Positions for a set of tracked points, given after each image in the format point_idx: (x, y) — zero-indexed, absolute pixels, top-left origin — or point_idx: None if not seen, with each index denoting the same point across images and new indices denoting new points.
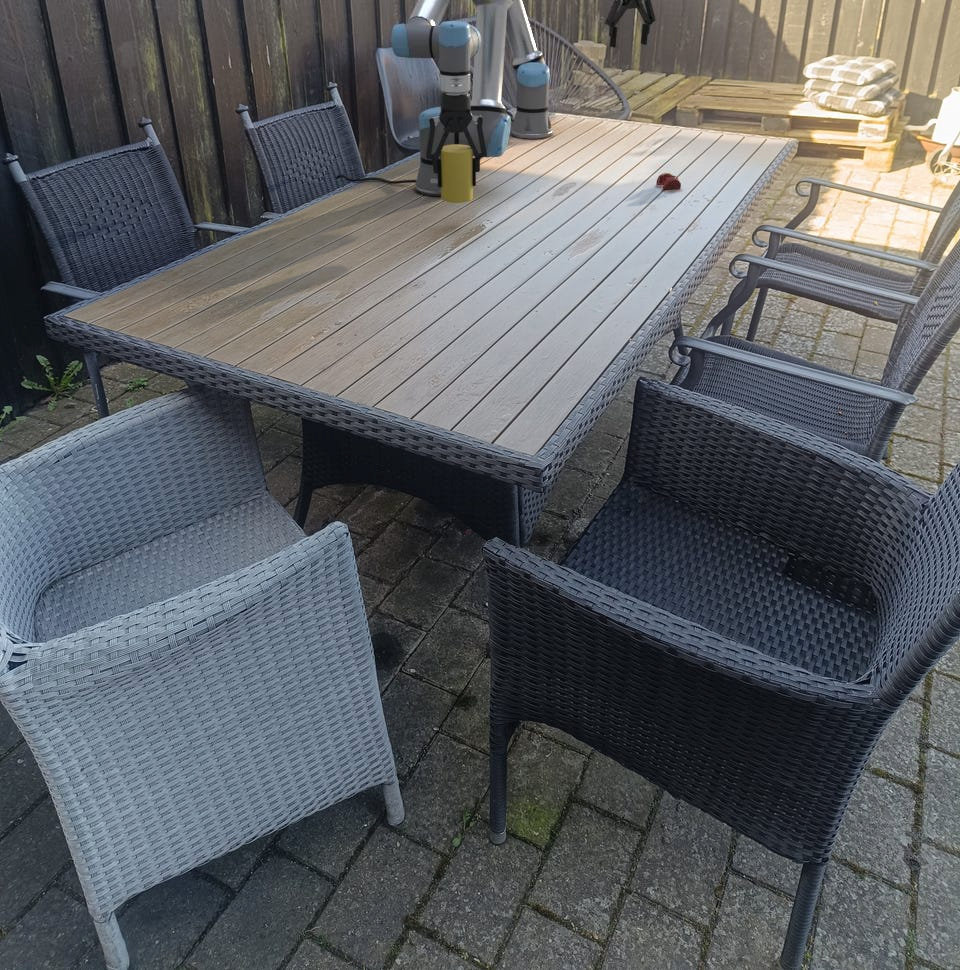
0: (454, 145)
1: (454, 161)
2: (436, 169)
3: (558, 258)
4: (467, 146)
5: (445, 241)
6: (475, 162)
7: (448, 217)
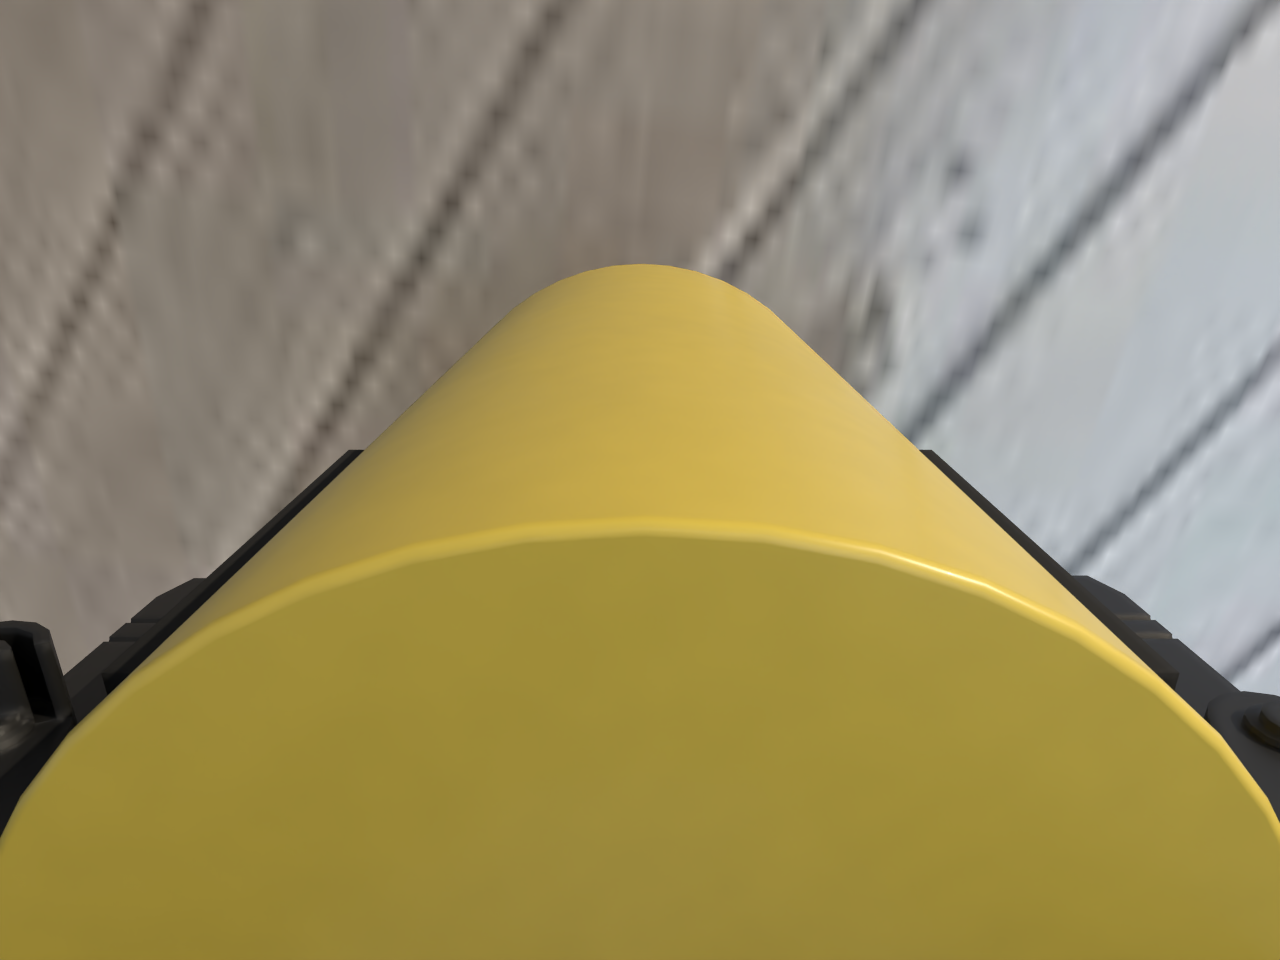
0: (600, 736)
1: None
2: None
3: None
4: (1184, 933)
5: None
6: None
7: (579, 9)
